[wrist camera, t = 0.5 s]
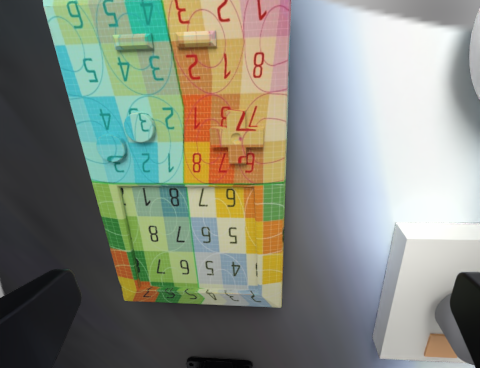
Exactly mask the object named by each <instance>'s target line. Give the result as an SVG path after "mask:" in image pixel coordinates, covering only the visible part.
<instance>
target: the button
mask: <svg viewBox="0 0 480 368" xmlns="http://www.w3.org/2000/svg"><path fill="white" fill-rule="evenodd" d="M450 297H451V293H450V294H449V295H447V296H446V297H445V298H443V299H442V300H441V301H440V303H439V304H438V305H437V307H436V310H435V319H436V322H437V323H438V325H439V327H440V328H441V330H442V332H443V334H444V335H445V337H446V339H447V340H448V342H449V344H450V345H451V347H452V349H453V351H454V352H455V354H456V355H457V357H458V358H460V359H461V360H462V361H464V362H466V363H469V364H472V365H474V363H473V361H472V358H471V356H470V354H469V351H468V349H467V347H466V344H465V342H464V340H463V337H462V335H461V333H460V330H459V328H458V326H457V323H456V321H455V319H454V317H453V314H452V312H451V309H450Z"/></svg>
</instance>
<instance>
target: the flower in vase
mask: <svg viewBox="0 0 480 368" xmlns="http://www.w3.org/2000/svg"><path fill="white" fill-rule="evenodd" d="M469 67H470V74H471V80H472V83H473V86H474V89H475V92H476V94H477V96H478V98H479V100H480V8H479V10H478V13H477V16H476V19H475V23H474V26H473V30H472V34H471V41H470V48H469Z"/></svg>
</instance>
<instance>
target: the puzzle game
mask: <svg viewBox="0 0 480 368" xmlns="http://www.w3.org/2000/svg"><path fill="white" fill-rule="evenodd" d="M43 5H44V10H45V13H46V17H47V20H48V24H49V28H50V31H51V35H52V39H53V42H54V46H55V50H56V53H57V57H58V60H59V64H60V68H61V71H62V75H63V79H64V82H65V86H66V90H67V93H68V97H69V100H70V104H71V108H72V111H73V115H74V119H75V122H76V126H77V130H78V133H79V137H80V140H81V144H82V148H83V151H84V155H85V159H86V162H87V166H88V169H89V173H90V177H91V180H92V184H93V188H94V191H95V195H96V199H97V202H98V206H99V209H100V213H101V217H102V220H103V224H104V228H105V231H106V235H107V239H108V242H109V246H110V249H111V253H112V257H113V260H114V264H115V268H116V271H117V275H118V279H119V282H120V286H121V289H122V293H123V297H124V300H125V301H144V302H166V303H189V304H212V305H234V306H257V307H279V308H282V277H283V245H284V213H285V180H286V148H287V116H288V84H289V52H290V20H291V0H43Z"/></svg>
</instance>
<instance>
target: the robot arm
mask: <svg viewBox="0 0 480 368" xmlns="http://www.w3.org/2000/svg"><path fill="white" fill-rule="evenodd" d="M80 303H81V292H80V289H79V287H78V284H77V281H76V279H75V276H74V273H73V272H72V271H71V270H69V269H54V270H51V271H49V272H47V273H45V274H44V275H42V276H40V277H38V278H36V279H34V280H33V281H31V282H29V283H27V284H25V285H23V286H21V287H20V288H18V289H16V290H14V291H12V292H10V293H8V294H7V295H5V296H3V297H1V298H0V368H52V367H53V365H54V363H55V360H56V358H57V356H58V354H59V352H60V349H61V347H62V345H63V343H64V340H65V338H66V336H67V333H68V331H69V329H70V326H71V324H72V322H73V320H74V317H75V315H76V313H77V310H78V308H79V306H80ZM450 309H451V312H452V314H453V317H454V319H455V321H456V323H457V326H458V328H459V330H460V333H461V335H462V337H463V340H464V342H465V344H466V347H467V349H468V351H469V354H470V356H471V358H472V361H473V363H474V365H475V368H480V272H460V273H459V274H458V275H457V277H456V280H455V283H454V287H453V290H452V293H451V297H450ZM186 365H187V368H253V364H252V362H251V361H247V360H229V359H211V358H192V357H191V358H188V359H187V363H186Z"/></svg>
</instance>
